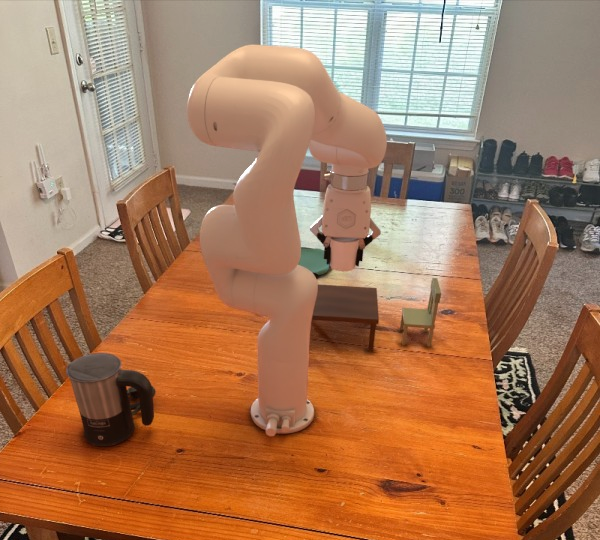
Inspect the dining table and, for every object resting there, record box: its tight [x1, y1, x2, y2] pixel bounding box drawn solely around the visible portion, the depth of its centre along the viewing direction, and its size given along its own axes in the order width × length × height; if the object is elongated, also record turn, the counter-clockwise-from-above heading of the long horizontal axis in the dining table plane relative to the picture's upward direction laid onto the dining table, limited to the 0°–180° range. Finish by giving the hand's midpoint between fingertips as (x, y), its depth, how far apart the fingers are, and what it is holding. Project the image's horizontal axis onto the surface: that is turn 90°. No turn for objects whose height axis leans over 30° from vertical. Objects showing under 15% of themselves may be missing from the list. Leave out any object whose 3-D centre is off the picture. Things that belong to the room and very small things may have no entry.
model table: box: [312, 283, 380, 352], centre depth 136 cm, size 16×18×9 cm
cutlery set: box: [298, 246, 332, 276], centre depth 170 cm, size 20×30×2 cm, turn 83°
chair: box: [399, 277, 442, 348], centre depth 133 cm, size 8×7×14 cm
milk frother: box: [65, 352, 156, 447], centre depth 106 cm, size 14×16×15 cm
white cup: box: [330, 237, 359, 272], centre depth 126 cm, size 7×7×7 cm
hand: (342, 262), depth 127 cm, fingers closed on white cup, 5 cm apart
